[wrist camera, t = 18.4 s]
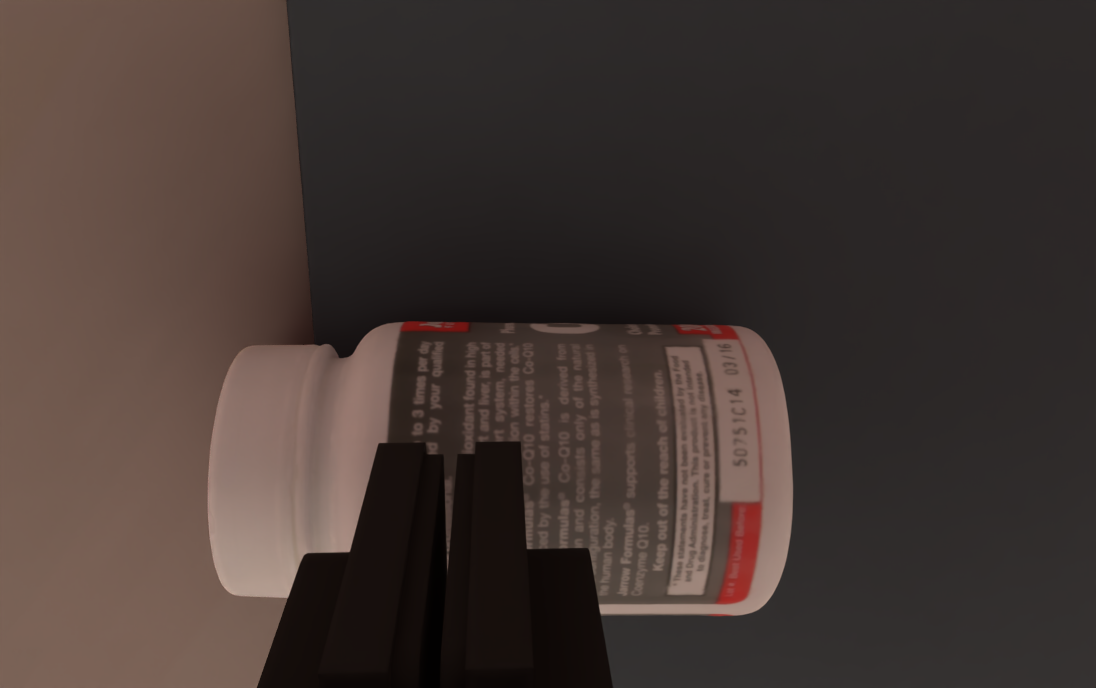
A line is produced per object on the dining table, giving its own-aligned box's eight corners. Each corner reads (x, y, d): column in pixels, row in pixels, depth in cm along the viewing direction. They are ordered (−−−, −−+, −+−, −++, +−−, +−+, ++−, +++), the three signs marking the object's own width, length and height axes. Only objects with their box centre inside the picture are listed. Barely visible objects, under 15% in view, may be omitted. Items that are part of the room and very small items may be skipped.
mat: (1494, -102, 15) (1519, -105, 15) (1230, 674, 21) (1244, 685, 21) (280, -127, 14) (275, -130, 14) (347, 696, 20) (344, 709, 20)
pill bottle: (771, 268, 14) (231, 257, 14) (823, 559, 12) (170, 558, 12) (708, 408, 19) (288, 402, 18) (738, 647, 16) (252, 649, 16)
